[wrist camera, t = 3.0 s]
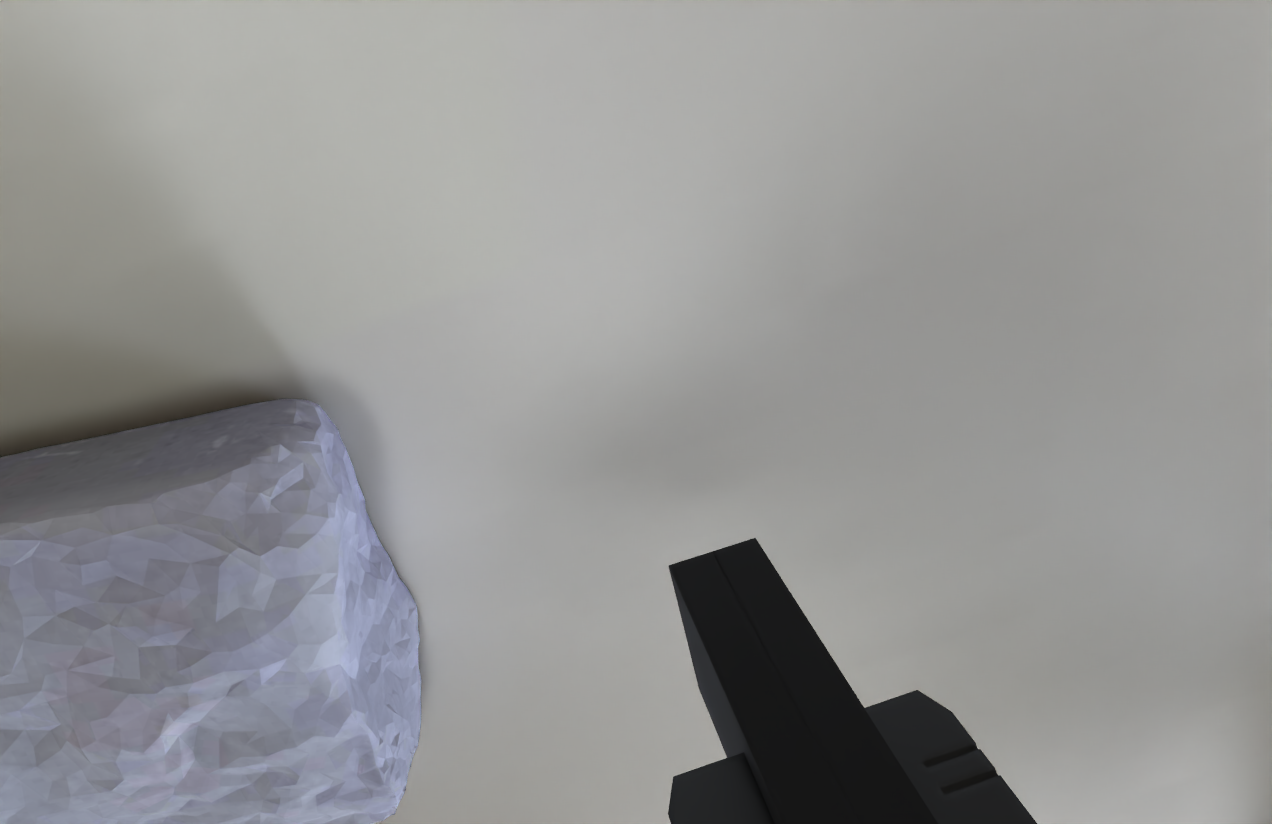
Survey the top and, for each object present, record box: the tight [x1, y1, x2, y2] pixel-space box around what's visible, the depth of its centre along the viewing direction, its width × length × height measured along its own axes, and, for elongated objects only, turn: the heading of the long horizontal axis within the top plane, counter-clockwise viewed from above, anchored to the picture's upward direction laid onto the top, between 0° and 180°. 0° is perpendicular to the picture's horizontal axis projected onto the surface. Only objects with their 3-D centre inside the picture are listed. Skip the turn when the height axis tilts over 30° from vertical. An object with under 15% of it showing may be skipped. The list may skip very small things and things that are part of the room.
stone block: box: [0, 399, 421, 824], centre depth 17 cm, size 12×5×10 cm
